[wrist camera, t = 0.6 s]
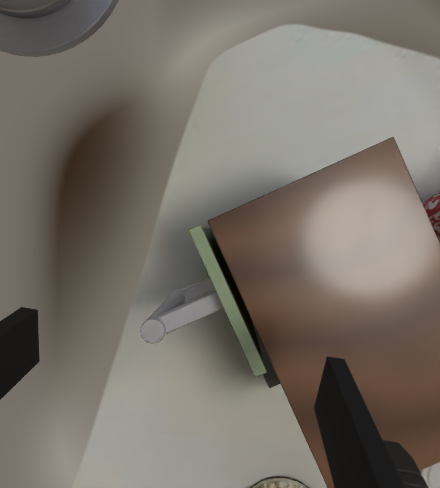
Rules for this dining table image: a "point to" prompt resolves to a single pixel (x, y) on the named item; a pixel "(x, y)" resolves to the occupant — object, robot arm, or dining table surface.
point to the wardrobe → (346, 293)
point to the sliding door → (207, 302)
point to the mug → (434, 213)
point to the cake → (279, 483)
